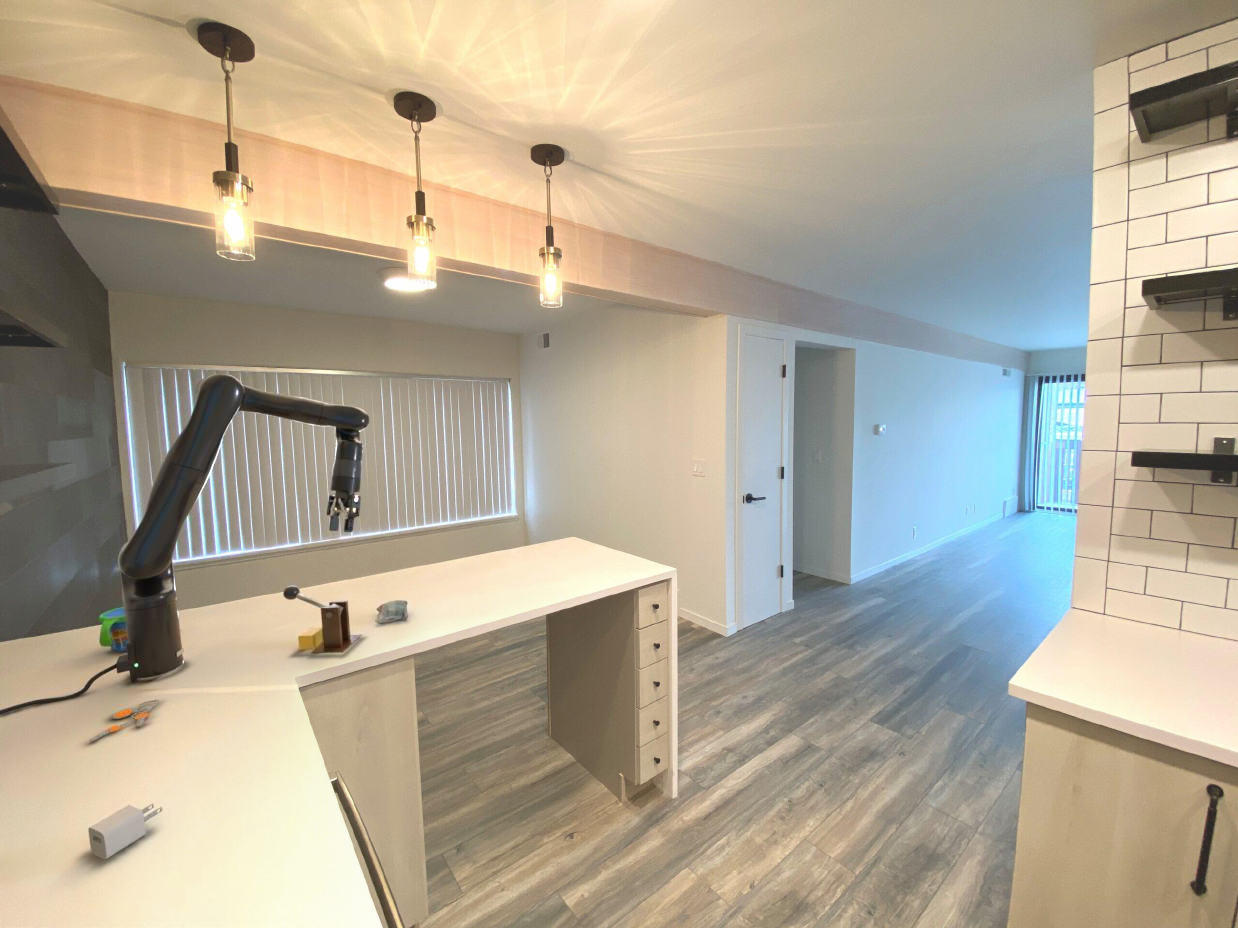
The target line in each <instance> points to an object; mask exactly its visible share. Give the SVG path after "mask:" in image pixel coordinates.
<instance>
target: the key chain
mask: <svg viewBox="0 0 1238 928" xmlns="http://www.w3.org/2000/svg"><path fill="white" fill-rule="evenodd" d="M160 701H161V700H160V699H153V700H148V701H147V700H146V701H144V702H141V703H139V704H138V706H137V707H136V709H134V708H127V709H124V710H120V711H118V712H116V713H115V714H113V715H112V719H113V720H120V719H124V718H127V717H129V716H130V718H131V719H132V720H130V721H127V722H125V723H122V724H120V725H113V726H110V727H108V728H106V729H105V730H104V731H103V732H102V733H99V734H97V735H95V736H94V737H92V738H89V740H88V741H89V742H94V741H95V740H97V739H99V738H101V737H103V736H105V735H107V734H109V733H114V732H116V731H119V730H120V729H121V727H124V726H127V725H129V724H131V723H133V722H135V721H137V722H136V725H135V727H137V728H138V727H141V726H142V725H144V722H145V719H146V718H148V717H149V713H148V711H149V710H151V708H154V707H155V706H156V705H157V704H158V703H159V702H160ZM153 702H154V703H153ZM149 703H153V704H152V705H150V706H149V707H145V708H142V709H139V708H140V707H141V706H142V705H145V704H149ZM138 709H139V710H138Z"/></svg>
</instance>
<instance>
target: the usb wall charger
mask: <svg viewBox="0 0 1238 928" xmlns="http://www.w3.org/2000/svg"><path fill="white" fill-rule="evenodd" d="M150 807H151V808H150ZM154 808H155V803H151V804H149V805H147V806H145V807H144V808H142V809H140V808H138V807H136V806H133V805H131V804H128V805H126V806H124V807H122V808H121V809H119V810H117V811H115V812H114V813H112V814H111V815H108V816H107V817H105V818H103V819H102V820H100V821H98V822H96V823H95V824H92V825H91V826H90V827H88V831H87V832H88V838H89V846H90V850H91V851H90V852H91V853H92V854H93V855H95V856H97V857H99V858H101V859H103V860H107V859H109V858H110V857H111V858H112V856H114V855H116V854H117V853H118V852H120V851H122V850H123V849H125V848H127V847H128V846H130V845H131V844H133V843H134V842H136V841H137V840H139V839H141V838H142V837H144V836H145V835H146V833H147V832H146V824H145V823H146V822H148V821H149V820H150V819H152V818H154V817H156V816H157V815H159V814H160V813H161V812H162V811H163V807H162V806H160V807H158V808H157V809H155V810H153V811H151V810H152V809H154ZM150 811H151V812H150ZM148 812H149V813H148ZM146 813H148V814H146ZM145 814H146V815H145ZM144 815H145V816H144Z"/></svg>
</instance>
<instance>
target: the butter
mask: <svg viewBox="0 0 1238 928" xmlns="http://www.w3.org/2000/svg"><path fill="white" fill-rule="evenodd" d="M297 637H298V638H297V639H298V640H297V641H298V649H299V650H300V651H301V650H315V649H316V648H317V647H319V646H320V645H321V644H322V643H323V631H322V626H320V627H309V628H307V629H306V630H304V631H303V632H301V633H300V634H299V635H298V636H297Z"/></svg>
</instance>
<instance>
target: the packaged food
mask: <svg viewBox="0 0 1238 928" xmlns="http://www.w3.org/2000/svg"><path fill="white" fill-rule="evenodd" d="M407 606H408V601H407V600H403V599H402V600H399V599H397V600H392V601H387V602H385V603H382V604H380V605H379V606H378V607H376V611H377V612H378V616H377V617H376V619H375V620H374V622H375V623H379V624H386V623H392V622H397V621H398V622H399V621H405V620H407V618H408V607H407Z"/></svg>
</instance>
